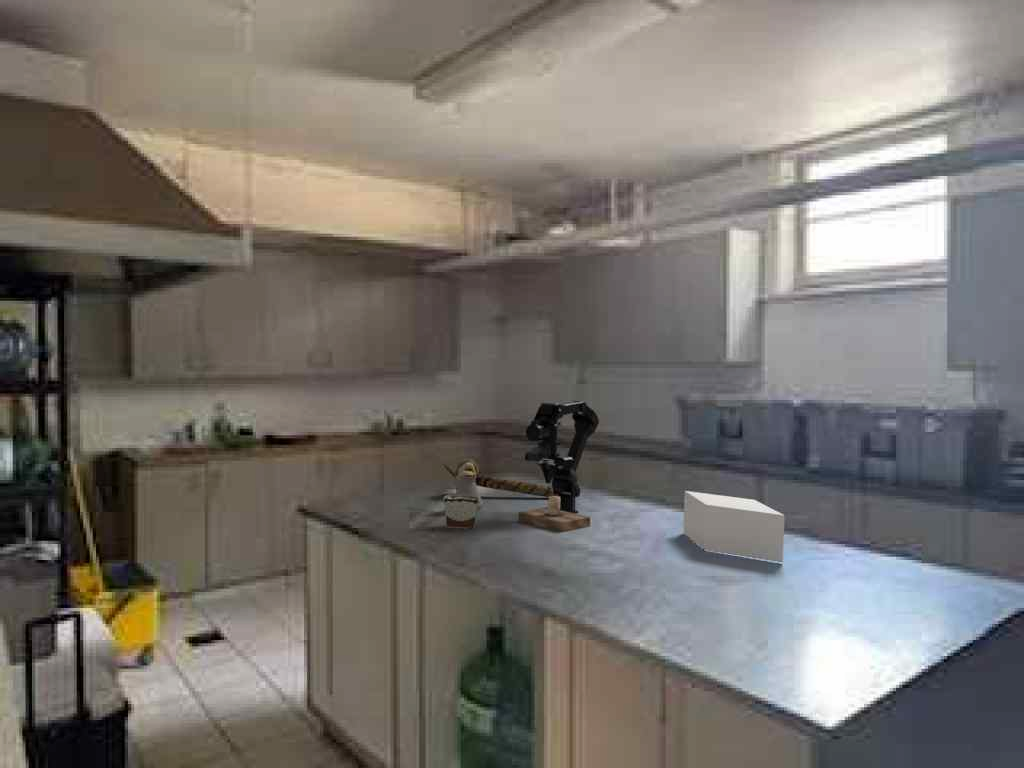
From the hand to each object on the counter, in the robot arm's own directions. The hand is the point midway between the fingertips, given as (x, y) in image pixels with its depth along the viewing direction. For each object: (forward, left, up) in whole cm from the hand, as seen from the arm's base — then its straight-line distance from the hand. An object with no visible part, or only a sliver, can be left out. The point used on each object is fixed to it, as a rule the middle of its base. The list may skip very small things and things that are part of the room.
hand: (548, 483), depth 263 cm
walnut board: (+5, +8, -12) cm, 15 cm away
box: (-14, +63, -12) cm, 66 cm away
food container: (+32, -8, -12) cm, 35 cm away
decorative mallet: (-13, -35, -12) cm, 40 cm away
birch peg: (+5, +8, -12) cm, 15 cm away
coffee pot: (+16, -29, -12) cm, 35 cm away
